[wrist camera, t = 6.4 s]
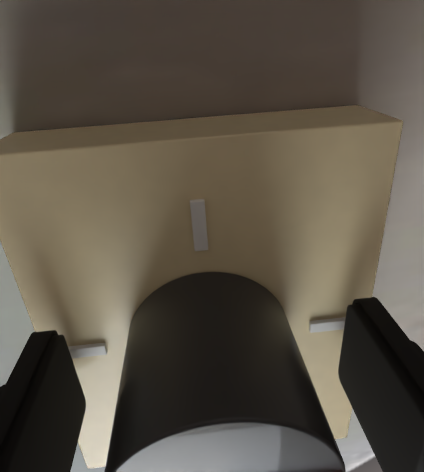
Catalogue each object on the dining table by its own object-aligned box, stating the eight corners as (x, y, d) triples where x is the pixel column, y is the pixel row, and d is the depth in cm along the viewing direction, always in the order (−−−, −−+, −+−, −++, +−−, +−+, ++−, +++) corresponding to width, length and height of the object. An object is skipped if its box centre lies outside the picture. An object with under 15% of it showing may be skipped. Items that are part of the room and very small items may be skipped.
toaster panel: (12, 132, 10) (-37, 158, 8) (358, 104, 11) (408, 121, 8) (99, 410, 16) (86, 473, 14) (324, 385, 16) (349, 442, 14)
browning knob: (141, 398, 12) (121, 588, 8) (115, 278, 10) (68, 455, 6) (283, 383, 12) (338, 560, 8) (290, 263, 10) (371, 422, 6)
